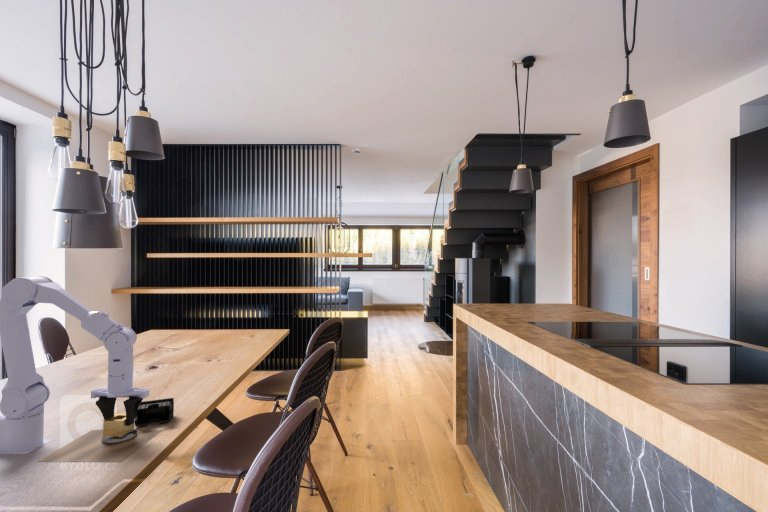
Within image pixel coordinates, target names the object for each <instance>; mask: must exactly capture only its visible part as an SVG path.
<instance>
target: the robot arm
mask: <svg viewBox="0 0 768 512" xmlns="http://www.w3.org/2000/svg"><path fill="white" fill-rule="evenodd" d="M37 304H52V305H53V306H56V307H58V308H59V309H61V310H62V311H64V312H65V313H67V314H69V315H71V316H72V317H74V318H75V319H77V320H79V321H80V324H81V325H80V327H81V328H82V329H83V330H84V331H86V332H87V333H88V334H90V335H92V336H93V337H95V338H96V339H98V340H99V341H100V342H102V343H103V346H104V348H105V350H106V351H107V352H108V354H107V356H108V357H107V387H105V388H95V389H93V390H91V391H90V399H96V398H98V399H97V400H96V401H95V405H96V407H97V408H98V409H99V410H100V412H101V415H102V417H103V421H104V420H106V419H108V418H110V417H112V416H113V415H115V406H116V402H117V399H118V398H124V399H125V398H128V399H125V400H123V405H124V410H125V414H126V425H127V426H130V425H131V424H133V423H134V421H135V416H136V413H137V410H138V408H139V406H140V404H141V402H143V400H144V399H147V398H149V397H150V389H149V388H142V387H141V388H140V387H134V345H135V344H136V342H137V336H138V335H137V333H136V332H135V330H133V328H132V327H129V326H128V327H127V326H126V327H125V325H124V324H122V322H121V323H119V322H117V321H115V320H114V319H113V318H111V317H109V315H110V314H109V313H108V312H107V311H103V312H102V311H101V310H95V311H92V310H91V309H90V308H89V307H87V306H86V305H85V304H83V303H82V302H81V301H80V300H78V299H77V298H76V297H74V296H73V295H72V294H70V293H69V292H68V291H66V289H65V288H63V287H62V285H60V284H59V283H58V282H56V281H53V280H52V279H51V278H49V277H48V276H43V275H42V276H41V275H40V276H39V275H38V276H33V277H31V276H30V277H22V276H21V277H16V278H15V277H14V278H13V279H11V280H10V281H8V283H6V284H5V285H4V286H3V287H2V288H1V298H0V342H1V347H2V354H3V358H4V363H5V370H6V376H7V380H6V383H5V384H4V386H3V387H2V389H1V400H0V413H1V414H2V415H1V416H0V454H1V455H13V454H14V455H15V454H16V455H18V454H19V455H25V454H29V453H31V452H33V451H35V450H36V449H38V448H39V447H40V448H41V447H42V446H44V445H45V444H48V443H49V442H52V441H53V438H52V439H51V438H47V439H46V438H44V430H45V429H44V428H45V427H44V426H45V425H44V424H45V421H44V420H45V403H46V402H47V401H48V400H49V398H50V394H51V392H50V391H51V390H50V388H49V387H48V386H47V384H46V383H45V380H44V377H43V376H42V375H40V374H39V373H38V372H37V369H36V364H35V363H36V362H35V358H34V353H33V352H34V351H33V346H32V340H31V335H30V334H31V333H30V330H29V324H28V319H27V318H28V317H27V314H28V313H29V312H30V311H31V310H32V309H33V308H34V307H35V306H36V305H37ZM134 424H135V423H134Z"/></svg>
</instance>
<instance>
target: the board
mask: <svg viewBox="0 0 768 512" xmlns="http://www.w3.org/2000/svg"><path fill="white" fill-rule="evenodd" d="M136 430H137V436H136V437H135V438H133V439H131V440H129V441H126V442H123V443H119V444H103V443H102V442H101V441H102V437H103V429H92V430H91V429H90V430H89V431H88V432H86V433H84V434H82V435H80V436H79V437H77V438H75V439H74V440H73V441H71V442H69V443H67V444H65V445H63V446H62V447H60V448H58V449H56V450H55V451H53V452H51V453H50V454H48V455H46V456H44V457H43V458H41V459H38V461H36V463H123V461H125V460H126V459H127V458H129V457H130V456H131V455H133V454H134V453H136V452H137V451H138V450H139V449H140V448H142V447H143V446H145V444H147V443H148V442H150V441H151V440H152V439H154V438H155V437H156V436H158V434H160V433H162V432H163V431H164V430H163V429H136Z"/></svg>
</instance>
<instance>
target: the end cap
mask: <svg viewBox="0 0 768 512" xmlns="http://www.w3.org/2000/svg"><path fill="white" fill-rule="evenodd" d="M174 404H175V398H173V397H169V398H162V399H161V398H160V399H152V400H145V401H142V402H141V404H140V406H139V408H138V410H137V413H136V416H135V419H134V427H142V426H144V427H145V426H147V425H148V423H150V422H157V421H158V423H159V424H163V423H169V422H170V421H171V420H172V419H173V418H174V410H175V408H174V407H175V406H174Z"/></svg>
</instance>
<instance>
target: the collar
mask: <svg viewBox="0 0 768 512" xmlns="http://www.w3.org/2000/svg"><path fill="white" fill-rule="evenodd" d="M102 423H103V426H102V428H103V429H102V430H103V436H124V435H125V434H127V433H128V432H130V431H131V430H133V429H135V423H133V424H131V425H130V426H127V425H126V413H114V415H113V416H112V417H110V418H108V419H106V420H104V419H103V422H102Z"/></svg>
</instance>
